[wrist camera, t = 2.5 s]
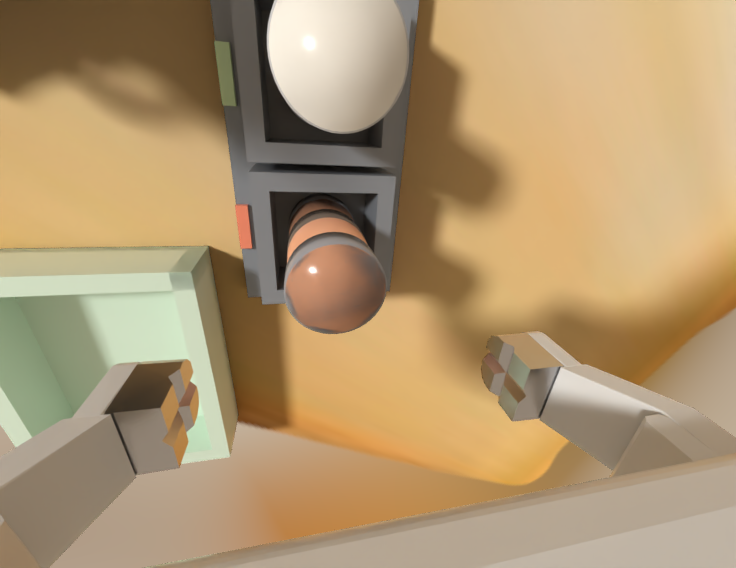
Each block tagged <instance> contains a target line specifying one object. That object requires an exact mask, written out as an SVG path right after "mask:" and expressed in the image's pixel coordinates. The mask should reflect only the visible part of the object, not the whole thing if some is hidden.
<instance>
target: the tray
mask: <svg viewBox="0 0 736 568" xmlns="http://www.w3.org/2000/svg"><path fill="white" fill-rule="evenodd" d="M178 359H188V360H189V361H191V365H192V368H193V375H192V377H191V380H190V381H191V382H192V383H193V384H195V385H196V386H197V389H198V394H199V407H198V415H197V418H196V421H195V424H194V426H193V427H192V428H191V429H190V430H189V431H187V432H186V433H187V437H188V441H189V442H188V445H187V448H186V451H185V453H184V456H183V459H182V462H181V464H183V463H191V462H198V461H205V460H212V459H219V458H227V457H230V456H231V450H232V445H233V440H234V435H235V430H236V425H237V420H238V409H237V403H236V398H235V392H234V386H233V381H232V375H231V369H230V364H229V358H228V353H227V347H226V341H225V336H224V330H223V324H222V319H221V313H220V307H219V302H218V296H217V291H216V285H215V279H214V274H213V268H212V262H211V257H210V251H209V246H170V247H92V248H13V249H0V425H1V426H2V428H3V429H4V431H5V432H6V434H7V435H8V437H9V438H10V440H11V441H12V442H13V444H14V446H15V447H17V446H19V445H21V444H22V443H24V442H26V441H27V440H29V439H31V438H32V437H34V436H36V435H37V434H39V433H41V432H42V431H44V430H46V429H47V428H49V427H51V426H52V425H54V424H56V423H57V422H59V421H61V420H62V419H69V418H72V417H73V416H74V414H75V413H76V412H77V410H78V409H79V408H80V407H81V405H82V404H83V403H84V402H85V400H86V399H87V398H88V396H89V395H90V394H91V393H92V391H93V390H94V389H95V387H96V386H97V385H98V384H99V382H100V381H101V380H102V378H103V377H104V376H105V375H106V373H107V372H108V371H109V370H110V368H111V367H112V366H114V365H116V364H118V363H130V362H143V361H161V360H178Z"/></svg>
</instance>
